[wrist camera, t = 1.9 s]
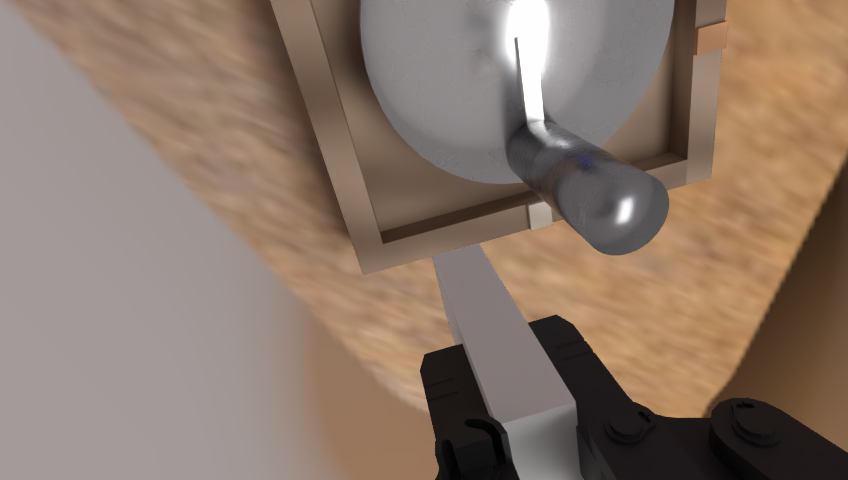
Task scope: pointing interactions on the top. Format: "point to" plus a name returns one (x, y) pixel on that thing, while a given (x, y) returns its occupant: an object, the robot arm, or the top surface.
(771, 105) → the top surface
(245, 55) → the top surface
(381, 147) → the dial panel
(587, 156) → the dial
